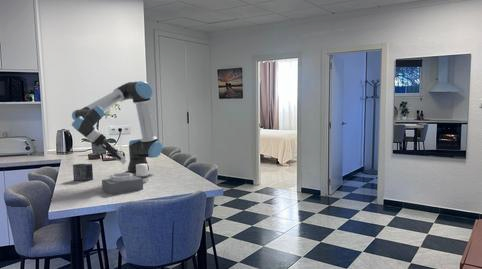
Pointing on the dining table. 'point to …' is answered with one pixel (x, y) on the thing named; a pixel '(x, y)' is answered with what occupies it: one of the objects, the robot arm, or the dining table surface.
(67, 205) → the dining table surface
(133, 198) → the dining table surface
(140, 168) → the white glossy rounded part
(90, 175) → the small box
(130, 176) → the octagonal socket base
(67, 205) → the dining table surface
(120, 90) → the robot arm
